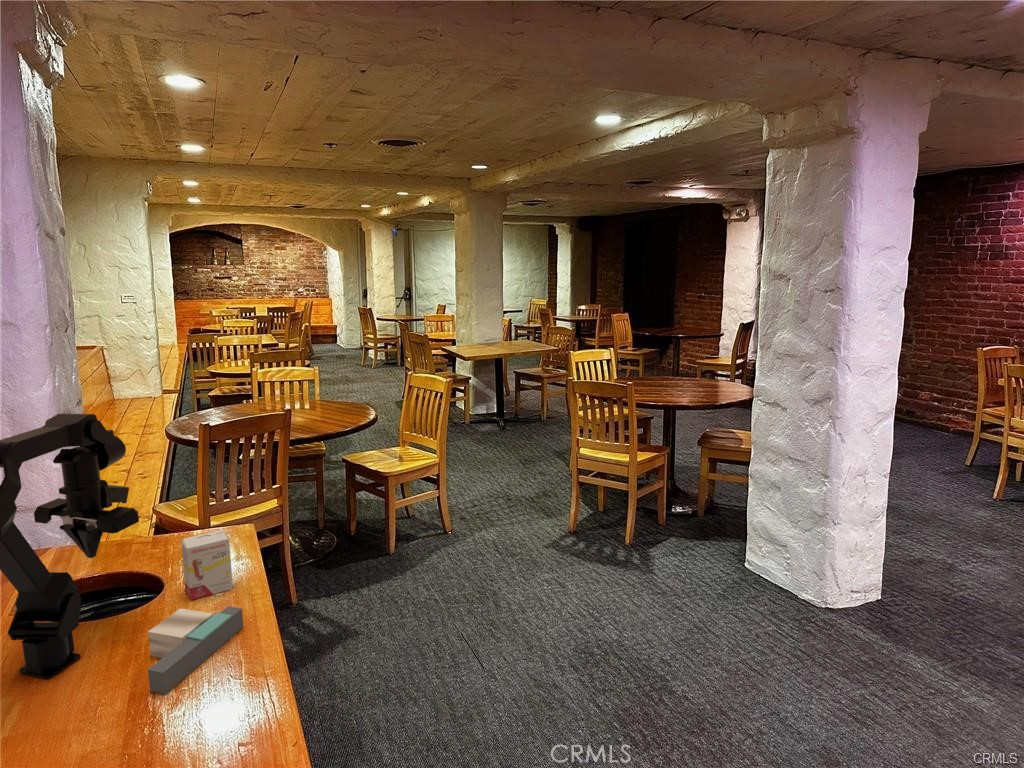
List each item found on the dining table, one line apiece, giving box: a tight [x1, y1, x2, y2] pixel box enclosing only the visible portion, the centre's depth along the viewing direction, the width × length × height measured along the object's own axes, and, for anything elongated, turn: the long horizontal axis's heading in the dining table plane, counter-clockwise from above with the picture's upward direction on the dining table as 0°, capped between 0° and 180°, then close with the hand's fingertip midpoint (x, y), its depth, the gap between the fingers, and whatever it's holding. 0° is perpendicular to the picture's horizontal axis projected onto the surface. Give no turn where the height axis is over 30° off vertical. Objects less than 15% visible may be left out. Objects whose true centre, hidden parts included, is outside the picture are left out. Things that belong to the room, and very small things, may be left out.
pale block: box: [147, 608, 214, 659], centre depth 121 cm, size 8×7×5 cm
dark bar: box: [147, 606, 244, 695], centre depth 118 cm, size 20×3×4 cm, turn 165°
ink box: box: [181, 530, 234, 601], centre depth 139 cm, size 9×5×12 cm, turn 127°
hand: (91, 557), depth 127 cm, fingers closed
